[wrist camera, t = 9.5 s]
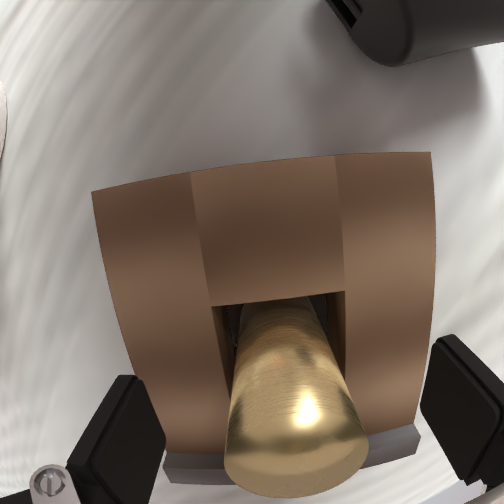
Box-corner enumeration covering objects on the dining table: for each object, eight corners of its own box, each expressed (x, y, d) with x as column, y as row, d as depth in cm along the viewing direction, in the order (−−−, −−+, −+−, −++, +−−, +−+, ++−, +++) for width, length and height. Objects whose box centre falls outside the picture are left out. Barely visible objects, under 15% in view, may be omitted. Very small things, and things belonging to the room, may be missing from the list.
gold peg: (235, 287, 16) (210, 422, 7) (311, 278, 16) (376, 401, 6) (246, 353, 17) (236, 501, 7) (315, 344, 17) (361, 486, 7)
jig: (128, 188, 15) (76, 193, 10) (392, 157, 15) (445, 149, 10) (186, 428, 19) (171, 484, 14) (388, 404, 18) (414, 455, 13)
